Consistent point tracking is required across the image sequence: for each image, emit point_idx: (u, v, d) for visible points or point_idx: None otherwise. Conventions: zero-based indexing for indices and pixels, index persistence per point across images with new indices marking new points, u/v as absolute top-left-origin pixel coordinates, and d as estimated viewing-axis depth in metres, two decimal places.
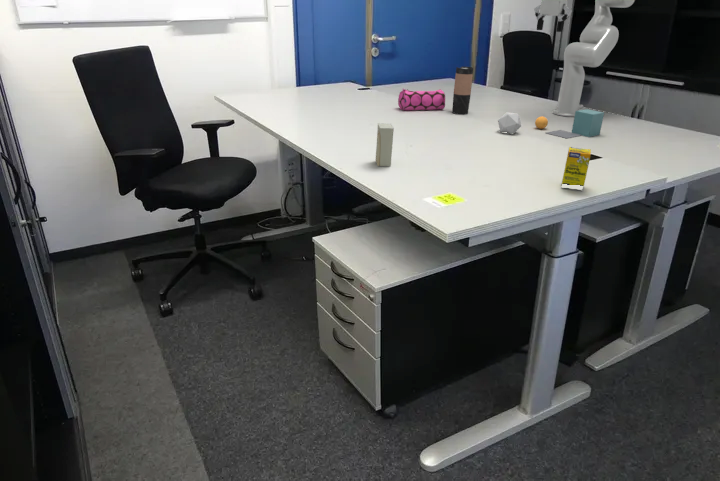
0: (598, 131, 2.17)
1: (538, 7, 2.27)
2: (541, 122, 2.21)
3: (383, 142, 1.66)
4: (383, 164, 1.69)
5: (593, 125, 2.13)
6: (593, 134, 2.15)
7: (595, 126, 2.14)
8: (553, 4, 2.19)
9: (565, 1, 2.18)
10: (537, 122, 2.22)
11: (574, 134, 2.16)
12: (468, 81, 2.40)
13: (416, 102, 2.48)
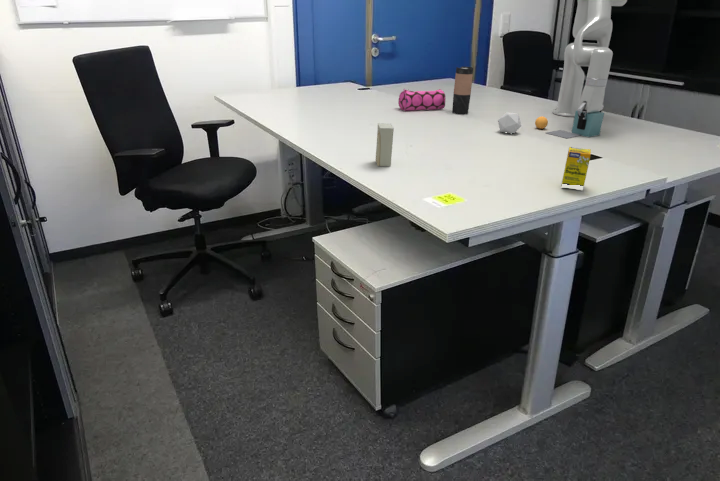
0: (598, 131, 2.17)
1: (583, 107, 2.10)
2: (541, 122, 2.21)
3: (383, 142, 1.66)
4: (383, 164, 1.69)
5: (593, 125, 2.13)
6: (593, 134, 2.15)
7: (595, 126, 2.14)
8: (600, 101, 2.12)
9: None
10: (537, 122, 2.22)
11: (574, 134, 2.16)
12: (468, 81, 2.40)
13: (418, 103, 2.47)
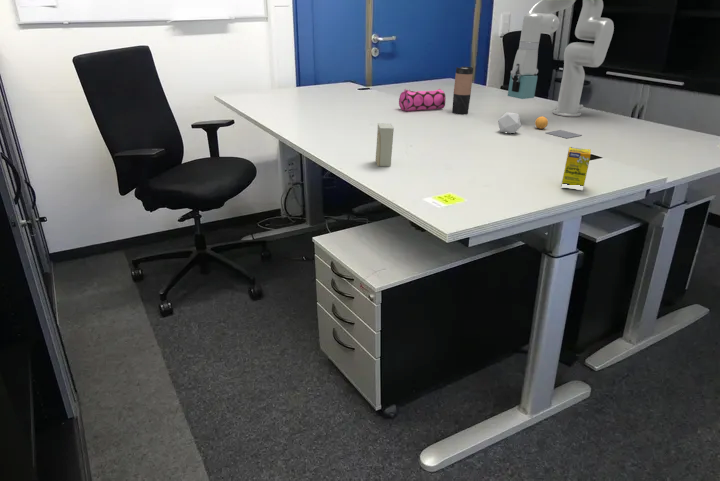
0: (532, 94, 2.26)
1: (516, 70, 2.20)
2: (541, 122, 2.21)
3: (383, 142, 1.66)
4: (383, 164, 1.69)
5: (526, 87, 2.23)
6: (527, 96, 2.25)
7: (529, 89, 2.24)
8: (533, 65, 2.22)
9: None
10: (537, 122, 2.22)
11: (574, 134, 2.16)
12: (468, 81, 2.40)
13: (419, 103, 2.47)
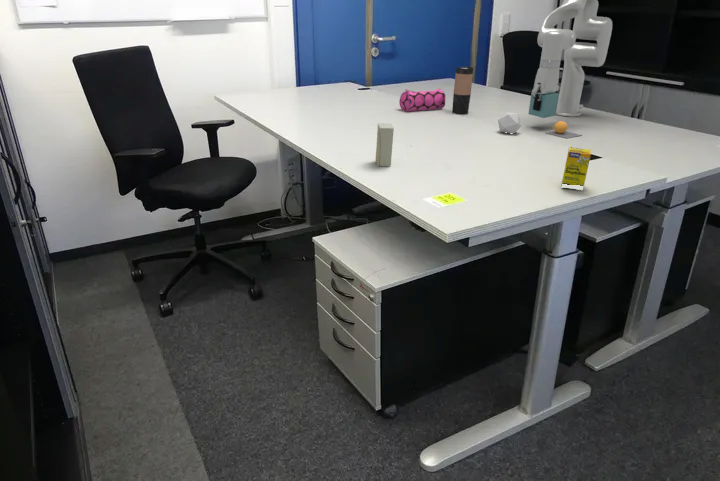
0: (554, 112, 2.22)
1: (537, 89, 2.15)
2: (554, 126, 2.16)
3: (383, 142, 1.66)
4: (383, 164, 1.69)
5: (548, 106, 2.18)
6: (549, 115, 2.20)
7: (550, 107, 2.19)
8: (554, 82, 2.17)
9: None
10: (556, 128, 2.15)
11: (574, 134, 2.16)
12: (468, 81, 2.40)
13: (420, 103, 2.47)
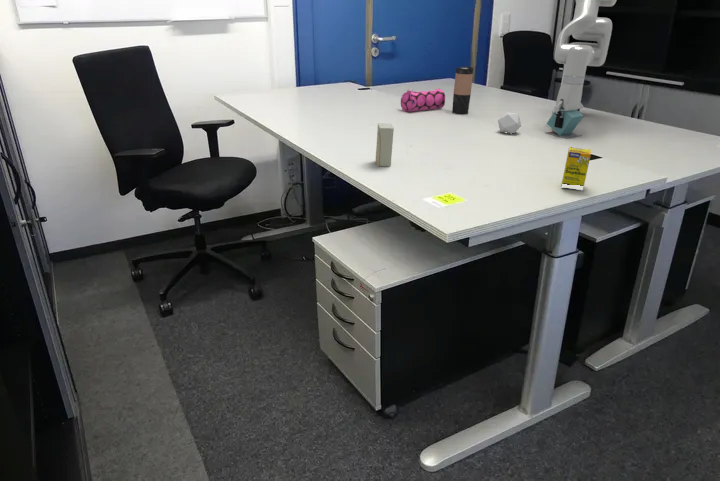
0: (571, 131, 2.16)
1: (560, 105, 2.07)
2: None
3: (383, 142, 1.66)
4: (383, 164, 1.69)
5: (568, 126, 2.11)
6: (565, 133, 2.15)
7: (570, 127, 2.13)
8: (577, 99, 2.10)
9: None
10: None
11: (574, 134, 2.16)
12: (468, 81, 2.40)
13: (422, 103, 2.47)
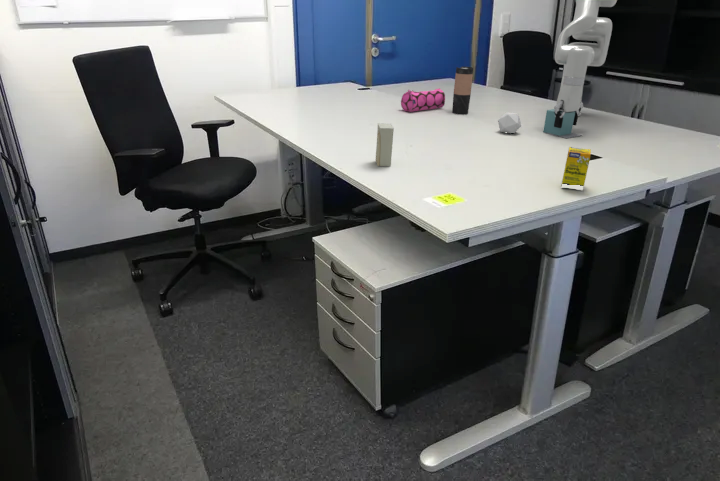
0: (569, 130, 2.16)
1: (560, 105, 2.07)
2: None
3: (383, 142, 1.66)
4: (383, 164, 1.69)
5: (564, 124, 2.13)
6: (564, 133, 2.15)
7: (566, 125, 2.14)
8: (577, 100, 2.10)
9: None
10: None
11: (574, 134, 2.16)
12: (468, 81, 2.40)
13: (422, 103, 2.47)
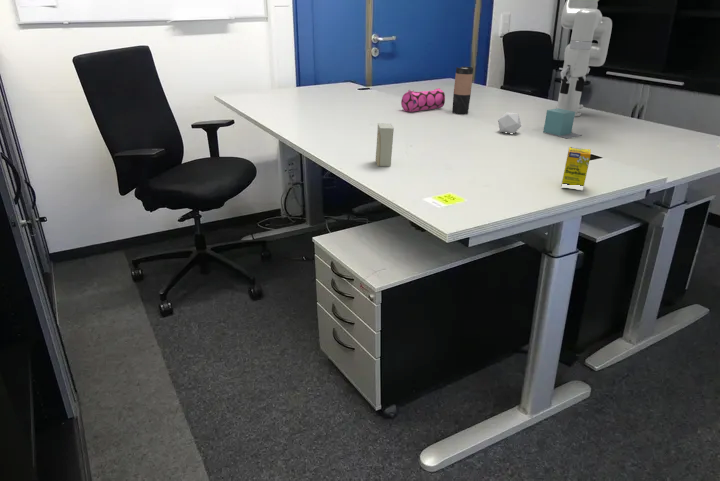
0: (569, 130, 2.16)
1: (566, 70, 2.02)
2: None
3: (383, 142, 1.66)
4: (383, 164, 1.69)
5: (564, 124, 2.13)
6: (564, 133, 2.15)
7: (566, 125, 2.14)
8: (584, 65, 2.05)
9: None
10: None
11: (574, 134, 2.16)
12: (468, 81, 2.40)
13: (422, 103, 2.46)
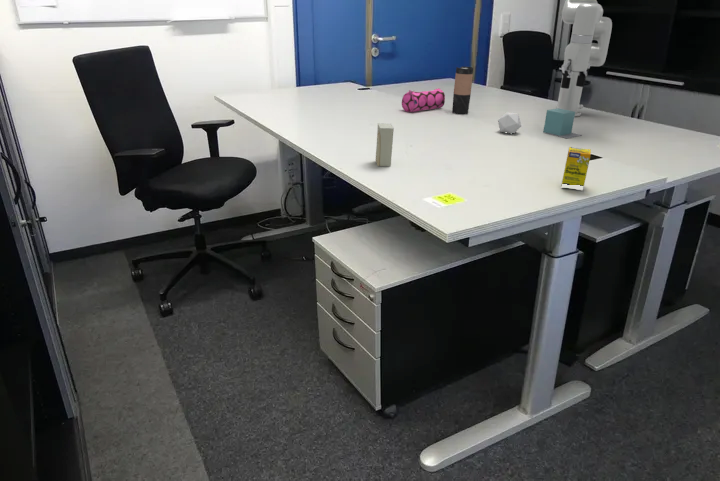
0: (569, 130, 2.16)
1: (567, 64, 2.01)
2: None
3: (383, 142, 1.66)
4: (383, 164, 1.69)
5: (564, 124, 2.13)
6: (564, 133, 2.15)
7: (566, 125, 2.14)
8: (585, 60, 2.04)
9: None
10: None
11: (574, 134, 2.16)
12: (468, 81, 2.40)
13: (423, 103, 2.46)
